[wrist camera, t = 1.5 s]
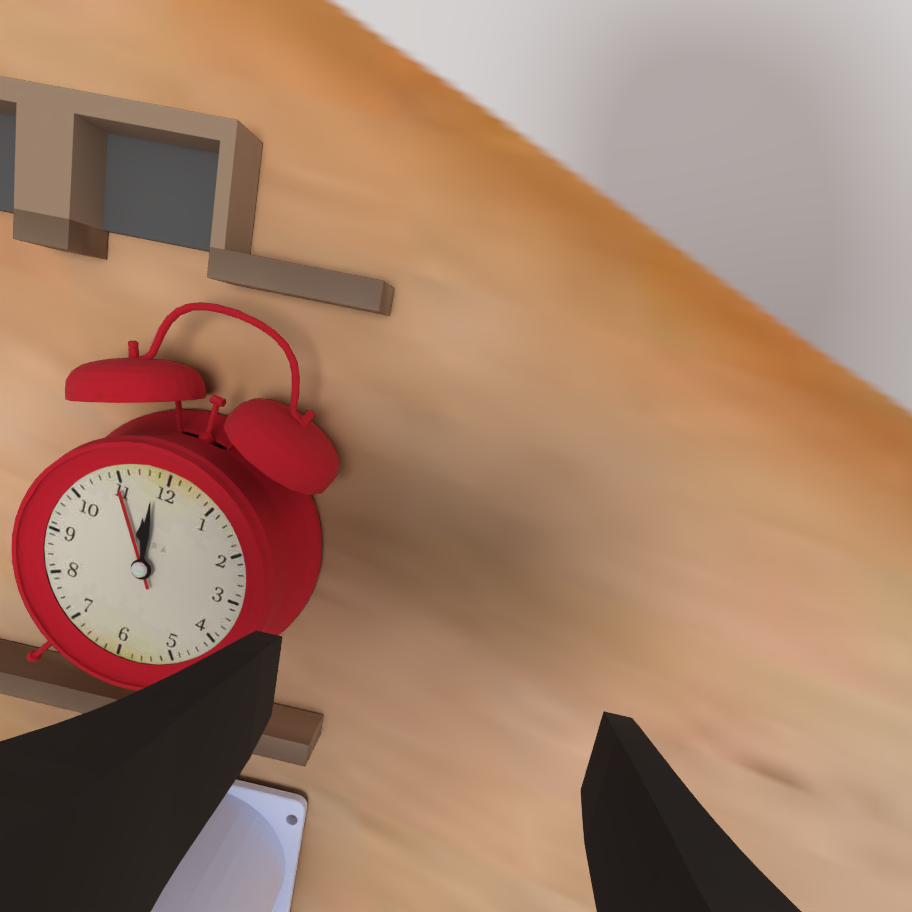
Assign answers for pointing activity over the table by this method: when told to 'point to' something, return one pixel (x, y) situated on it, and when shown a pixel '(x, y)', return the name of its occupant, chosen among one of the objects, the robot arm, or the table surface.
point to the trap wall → (53, 674)
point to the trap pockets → (128, 166)
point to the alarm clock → (172, 521)
